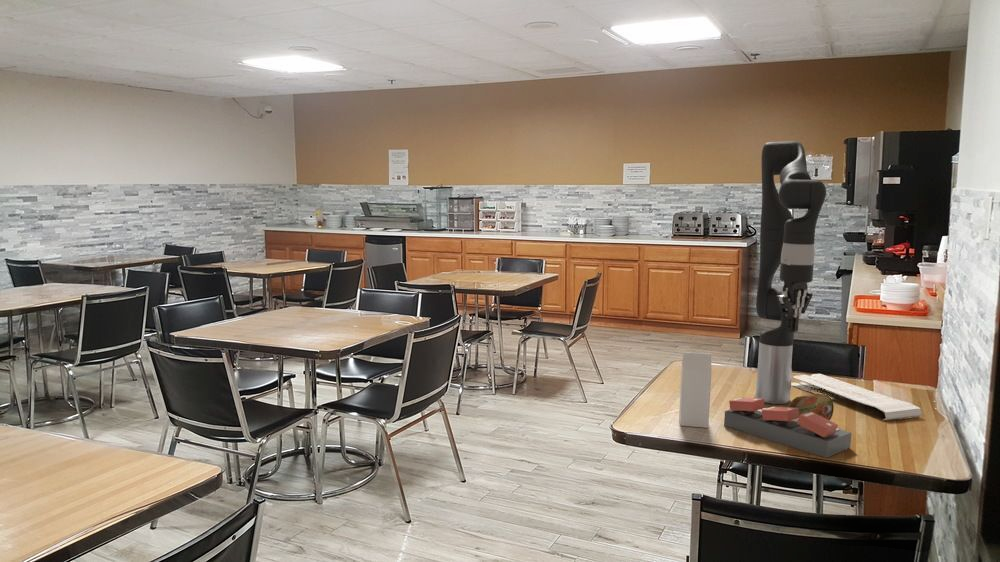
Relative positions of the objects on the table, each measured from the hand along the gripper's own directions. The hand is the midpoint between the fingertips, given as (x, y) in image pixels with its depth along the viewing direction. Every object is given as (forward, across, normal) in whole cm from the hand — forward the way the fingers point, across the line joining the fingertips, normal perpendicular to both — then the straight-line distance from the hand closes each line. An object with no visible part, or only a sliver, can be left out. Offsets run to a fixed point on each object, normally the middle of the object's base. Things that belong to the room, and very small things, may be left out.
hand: (792, 331), depth 180 cm
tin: (+27, -14, -1) cm, 30 cm away
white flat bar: (+28, -47, -7) cm, 55 cm away
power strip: (+27, 0, 0) cm, 27 cm away
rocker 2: (+21, +2, 0) cm, 21 cm away
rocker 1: (+21, +2, -10) cm, 23 cm away
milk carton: (+27, +10, -20) cm, 35 cm away
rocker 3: (+21, +2, +10) cm, 23 cm away
